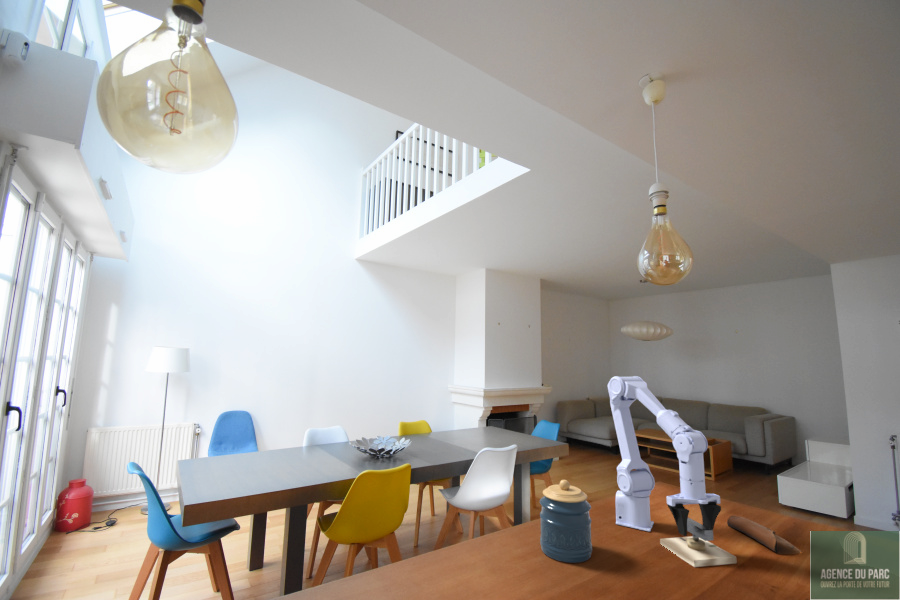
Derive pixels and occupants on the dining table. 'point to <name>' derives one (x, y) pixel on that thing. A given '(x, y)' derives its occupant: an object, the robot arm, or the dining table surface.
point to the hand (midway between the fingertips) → (695, 533)
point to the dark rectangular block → (699, 530)
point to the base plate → (698, 551)
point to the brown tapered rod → (762, 535)
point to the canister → (565, 523)
